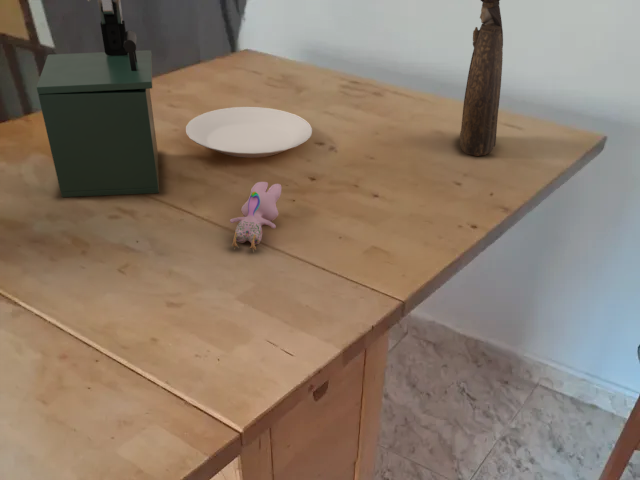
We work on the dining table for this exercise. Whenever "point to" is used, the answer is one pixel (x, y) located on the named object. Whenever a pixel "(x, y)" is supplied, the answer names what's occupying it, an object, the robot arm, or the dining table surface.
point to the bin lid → (97, 70)
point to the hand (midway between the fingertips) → (117, 53)
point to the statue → (483, 84)
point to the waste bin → (102, 142)
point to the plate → (249, 131)
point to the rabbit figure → (257, 213)
